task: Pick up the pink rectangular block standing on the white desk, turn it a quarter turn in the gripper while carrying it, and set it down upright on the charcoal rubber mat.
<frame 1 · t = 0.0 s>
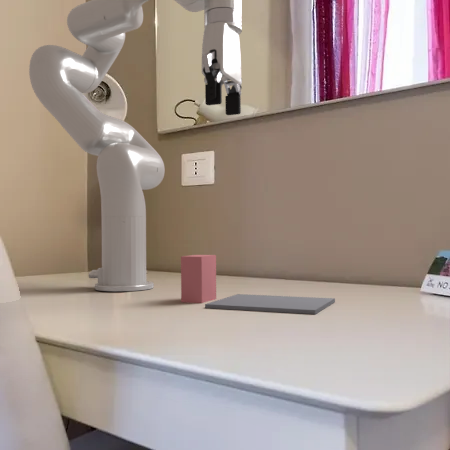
hand: (223, 109, 106), 37 cm above the table, tool pointing down, fingers open, 9 cm apart
pink rectangular block: (199, 300, 94), on the table
mat: (272, 304, 88), on the table
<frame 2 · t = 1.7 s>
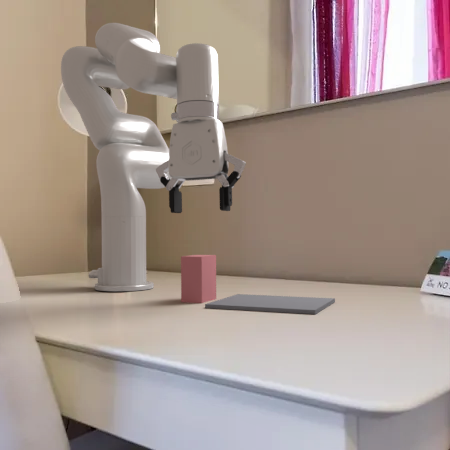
hand: (200, 211, 94), 16 cm above the table, tool pointing down, fingers open, 9 cm apart
nothing on the table moved.
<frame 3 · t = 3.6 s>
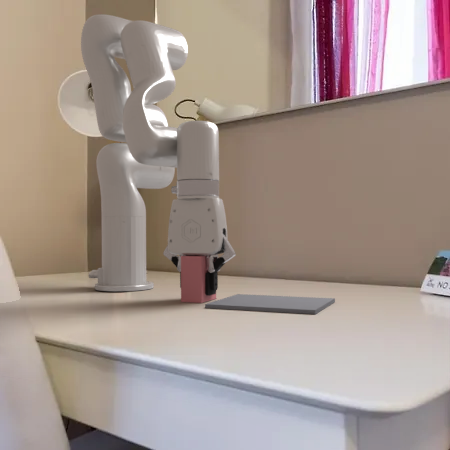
hand: (198, 292, 94), 1 cm above the table, tool pointing down, fingers closed on pink rectangular block, 4 cm apart
pink rectangular block: (199, 300, 94), on the table, touching gripper
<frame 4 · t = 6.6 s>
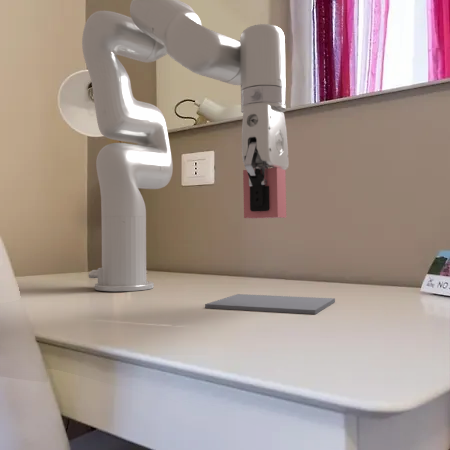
hand: (265, 210, 88), 16 cm above the table, tool pointing down, fingers closed on pink rectangular block, 4 cm apart
pink rectangular block: (265, 217, 88), point 14 cm above the table, touching gripper
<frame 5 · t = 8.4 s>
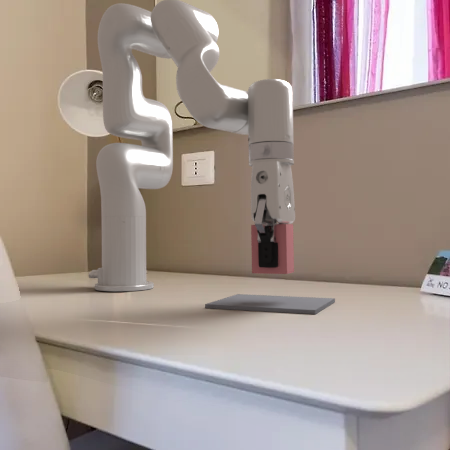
hand: (273, 265, 88), 7 cm above the table, tool pointing down, fingers closed on pink rectangular block, 4 cm apart
pink rectangular block: (273, 272, 88), point 5 cm above the table, touching gripper
when the fingers open (3 cm above the table, at t = 9.8 s): pink rectangular block drops 1 cm, resting on mat.
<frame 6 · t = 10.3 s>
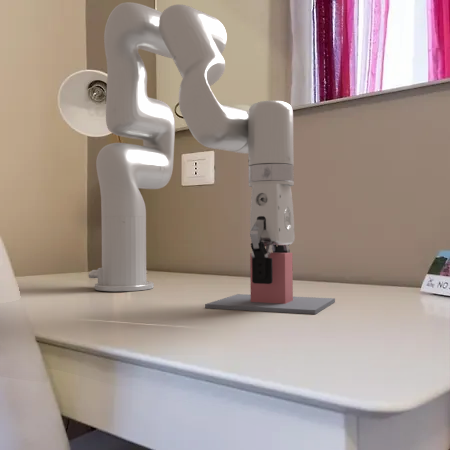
hand: (271, 280, 88), 4 cm above the table, tool pointing down, fingers open, 9 cm apart
pink rectangular block: (271, 301, 88), point 1 cm above the table, touching mat
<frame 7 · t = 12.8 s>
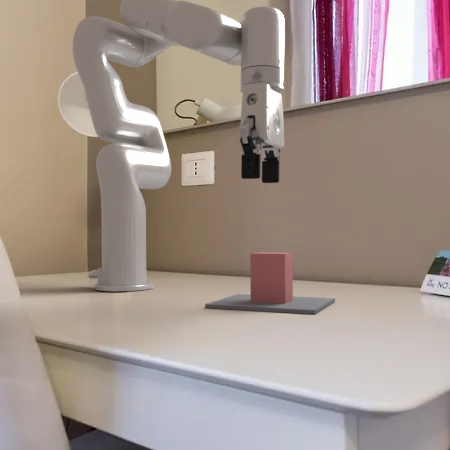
hand: (261, 180, 92), 21 cm above the table, tool pointing down, fingers open, 9 cm apart
nothing on the table moved.
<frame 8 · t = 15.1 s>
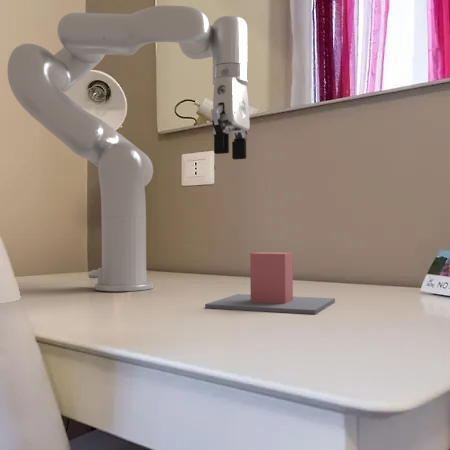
hand: (230, 156, 114), 28 cm above the table, tool pointing down, fingers open, 9 cm apart
nothing on the table moved.
at the end: pink rectangular block inside the target area on the mat (0.1 cm from its centre), point 0.6 cm above the mat's base; pink rectangular block tilted 0°; pink rectangular block touching mat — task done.
